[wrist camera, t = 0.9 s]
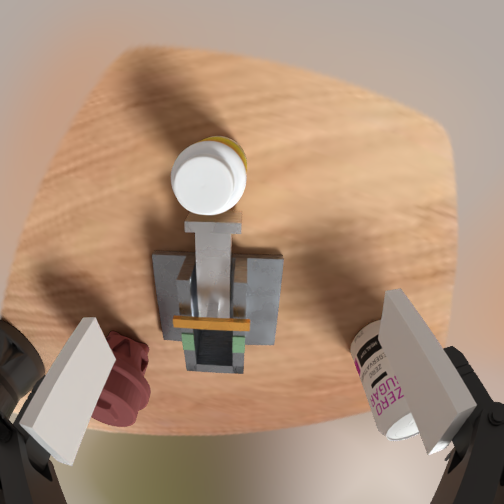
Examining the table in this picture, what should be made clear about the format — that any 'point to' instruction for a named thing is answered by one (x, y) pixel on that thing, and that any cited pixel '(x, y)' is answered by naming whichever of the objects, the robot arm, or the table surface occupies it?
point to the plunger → (213, 271)
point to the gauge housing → (242, 307)
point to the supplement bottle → (210, 175)
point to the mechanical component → (124, 383)
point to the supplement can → (382, 386)
